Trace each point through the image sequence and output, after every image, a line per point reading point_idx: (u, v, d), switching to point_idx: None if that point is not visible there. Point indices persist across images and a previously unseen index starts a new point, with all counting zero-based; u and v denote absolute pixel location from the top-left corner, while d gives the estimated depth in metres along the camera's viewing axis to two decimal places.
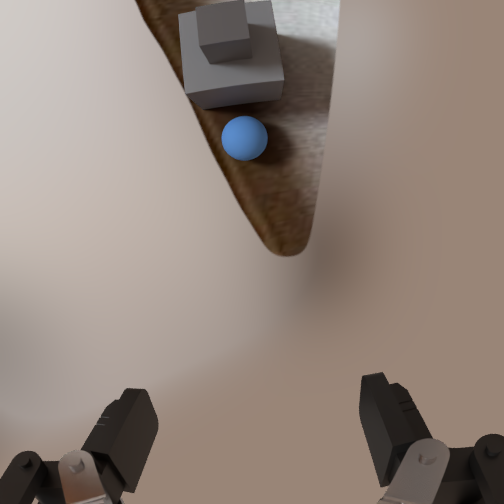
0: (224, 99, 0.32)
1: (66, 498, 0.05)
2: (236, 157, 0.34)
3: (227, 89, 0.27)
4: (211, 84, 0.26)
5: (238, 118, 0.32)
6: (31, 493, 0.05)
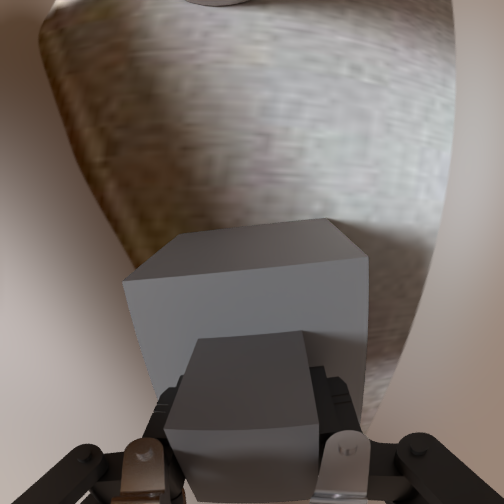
0: None
1: (122, 485, 0.06)
2: None
3: None
4: None
5: None
6: (82, 489, 0.06)
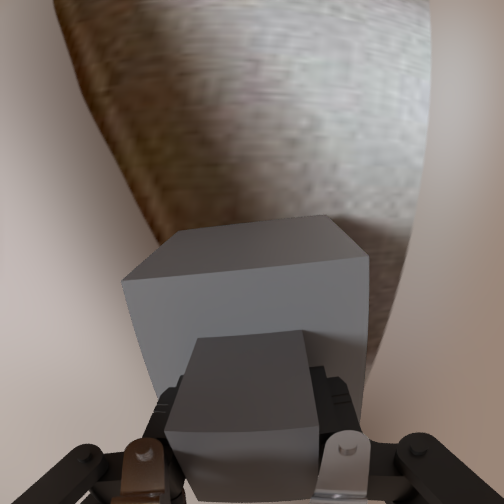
0: None
1: (122, 485, 0.06)
2: None
3: None
4: None
5: None
6: (82, 489, 0.06)
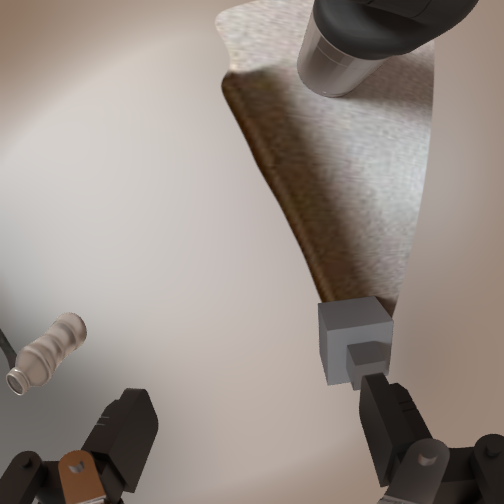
0: None
1: (66, 498, 0.05)
2: None
3: None
4: (345, 380, 0.42)
5: None
6: (31, 493, 0.05)
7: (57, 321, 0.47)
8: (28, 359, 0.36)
